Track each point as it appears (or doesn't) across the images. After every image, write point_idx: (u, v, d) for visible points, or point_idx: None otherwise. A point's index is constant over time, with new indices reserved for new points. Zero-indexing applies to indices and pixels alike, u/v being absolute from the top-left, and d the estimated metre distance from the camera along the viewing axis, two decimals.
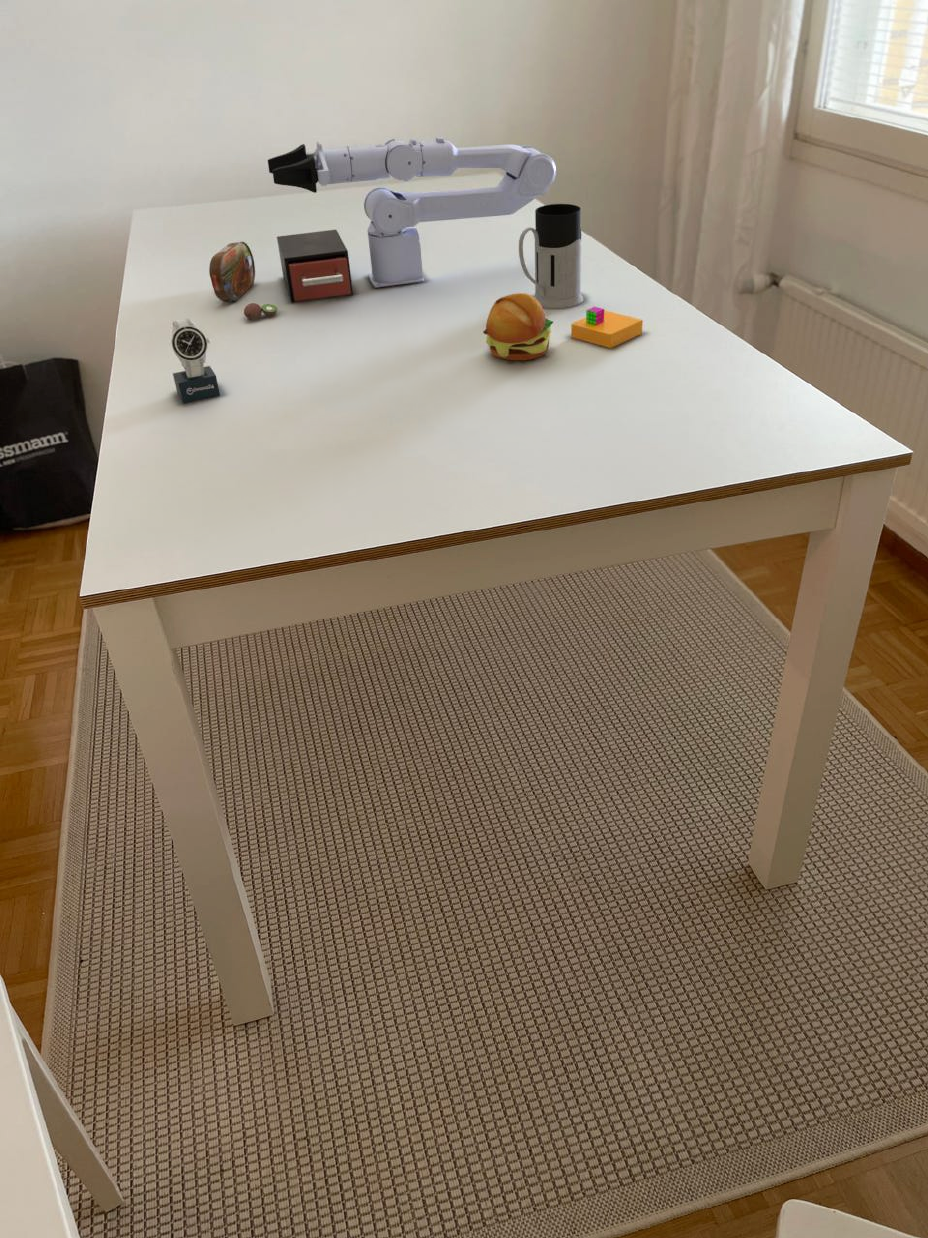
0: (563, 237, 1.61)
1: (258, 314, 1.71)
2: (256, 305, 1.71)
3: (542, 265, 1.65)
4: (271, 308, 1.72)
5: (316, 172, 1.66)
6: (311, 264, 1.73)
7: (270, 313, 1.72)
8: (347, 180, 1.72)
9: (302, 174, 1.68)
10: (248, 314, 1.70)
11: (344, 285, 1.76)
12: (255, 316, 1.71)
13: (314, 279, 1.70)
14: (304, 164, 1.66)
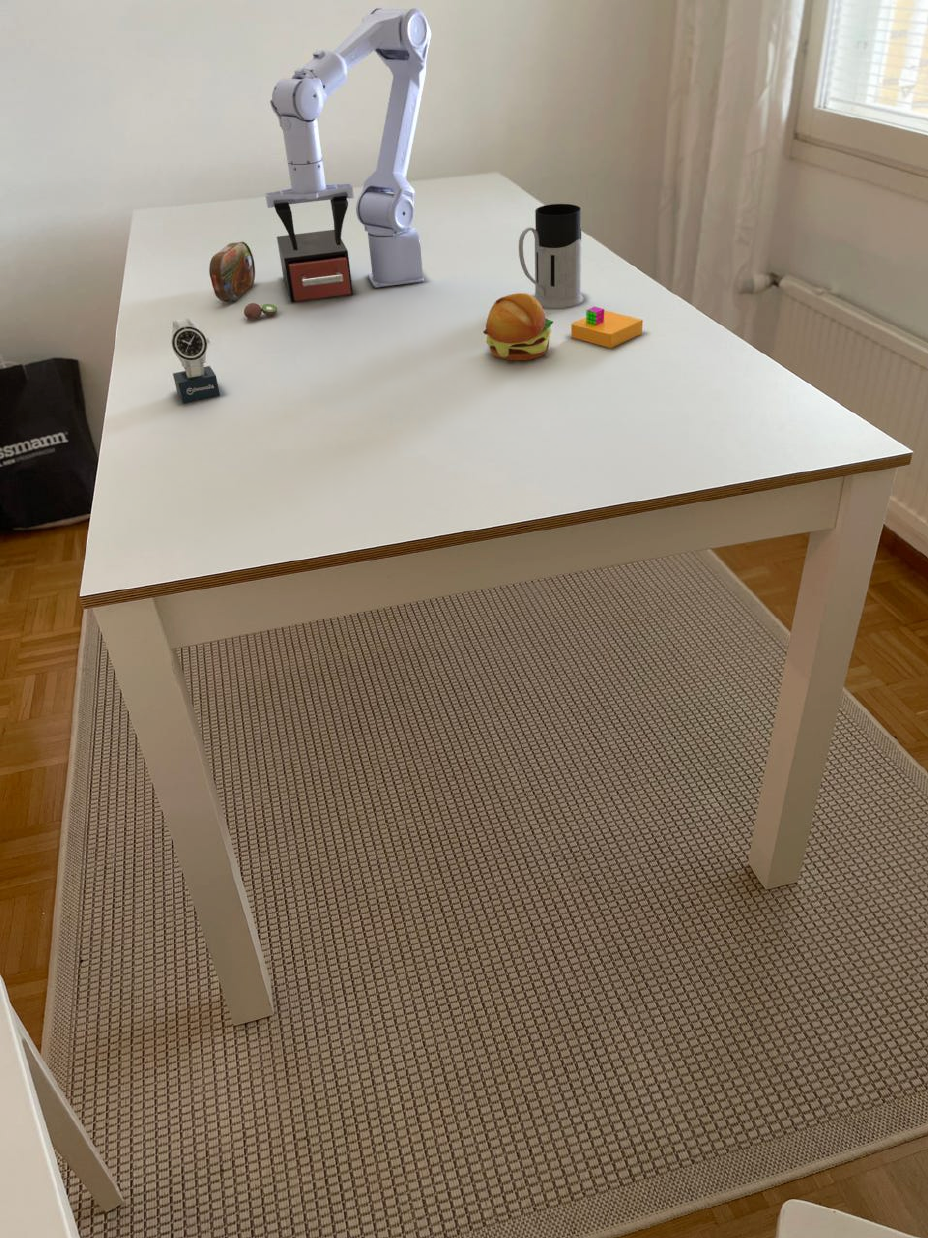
0: (563, 237, 1.61)
1: (258, 314, 1.71)
2: (256, 305, 1.71)
3: (542, 265, 1.65)
4: (271, 308, 1.72)
5: None
6: (311, 264, 1.73)
7: (270, 313, 1.72)
8: None
9: None
10: (248, 314, 1.70)
11: (344, 285, 1.76)
12: (255, 316, 1.71)
13: (314, 279, 1.70)
14: (345, 212, 1.66)
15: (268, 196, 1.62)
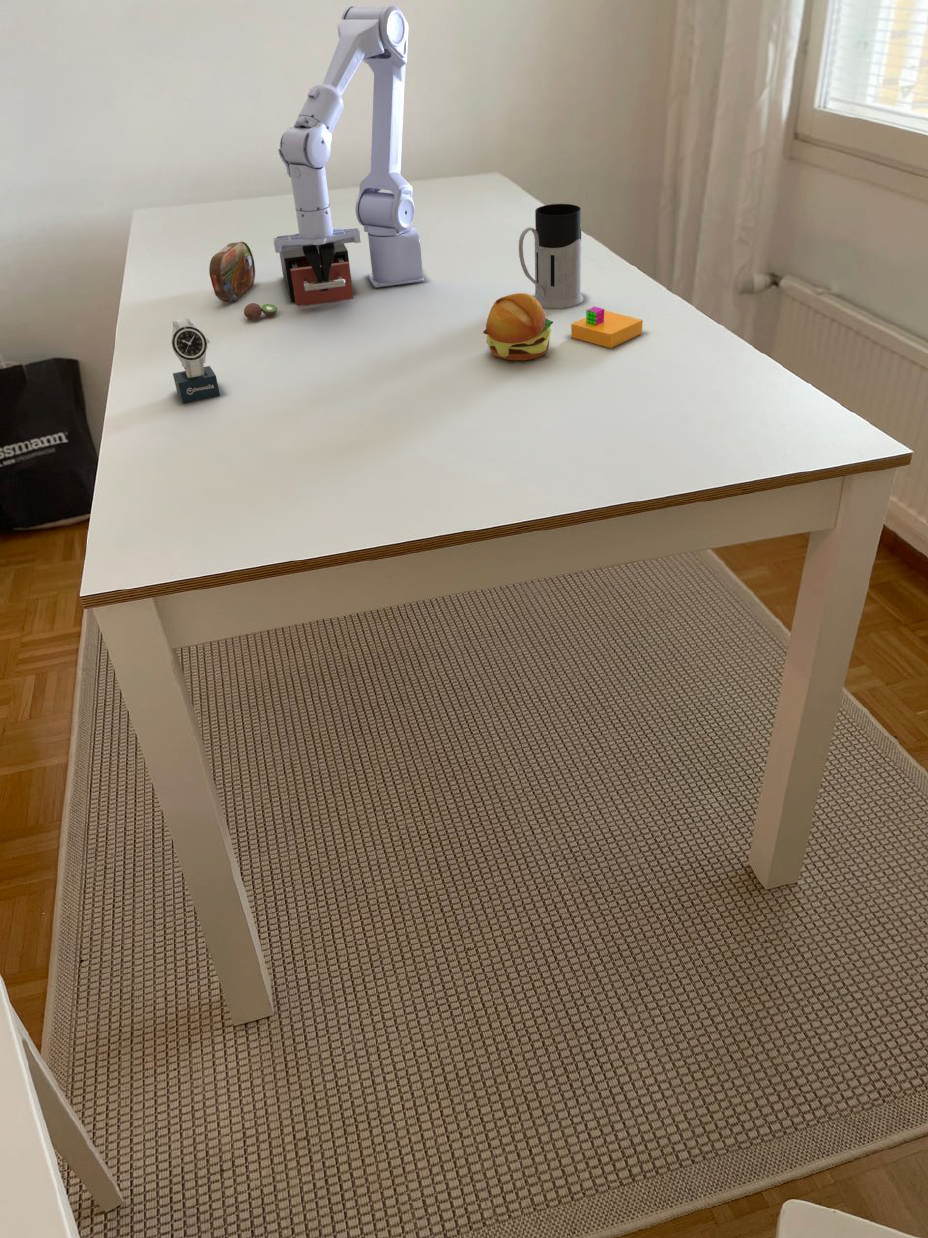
0: (563, 237, 1.61)
1: (258, 314, 1.71)
2: (256, 305, 1.71)
3: (542, 265, 1.65)
4: (271, 308, 1.72)
5: None
6: None
7: (270, 313, 1.72)
8: None
9: None
10: (248, 314, 1.70)
11: (346, 290, 1.74)
12: (255, 316, 1.71)
13: (316, 284, 1.68)
14: None
15: (276, 241, 1.64)
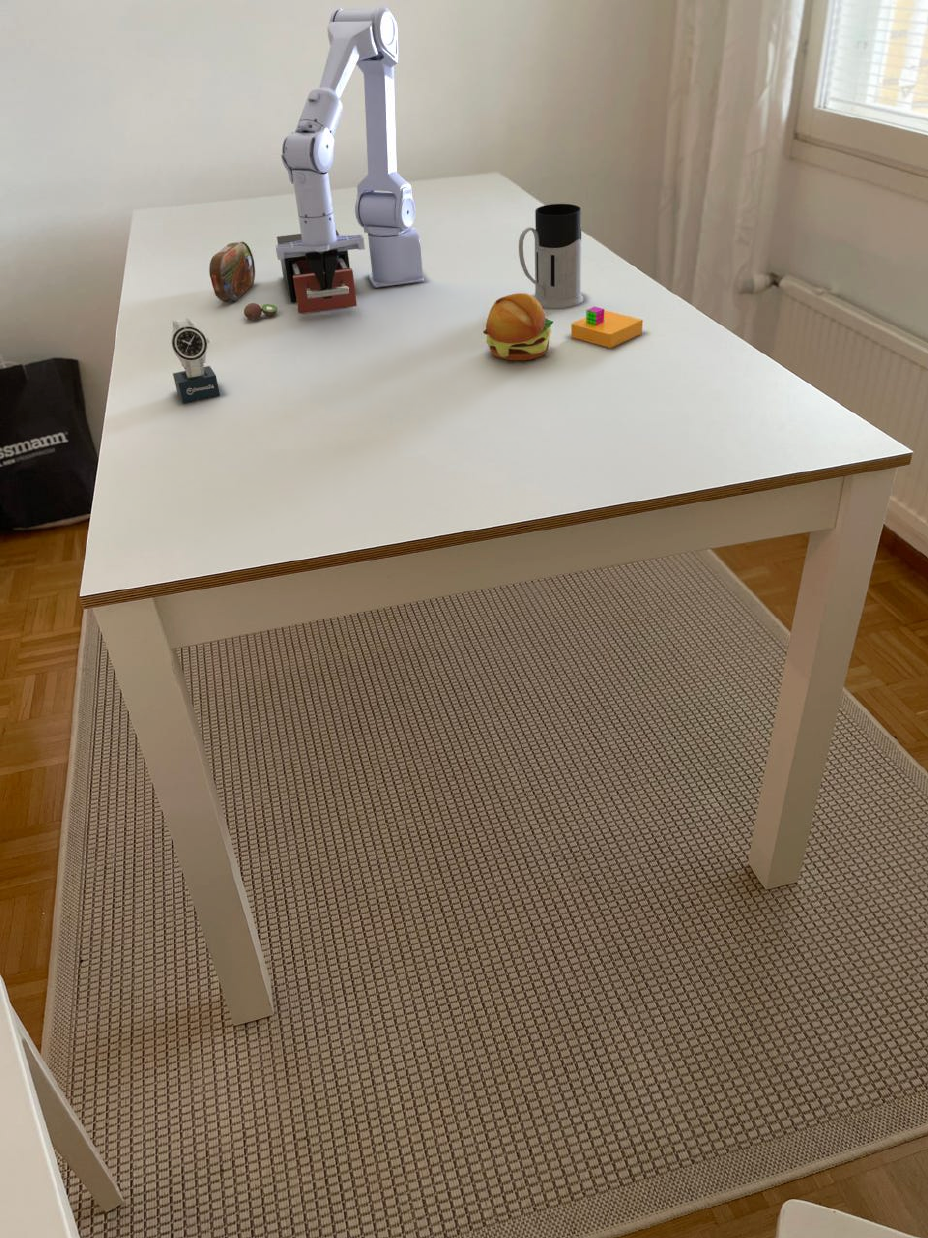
0: (563, 237, 1.61)
1: (258, 314, 1.71)
2: (256, 305, 1.71)
3: (542, 265, 1.65)
4: (271, 308, 1.72)
5: None
6: None
7: (270, 313, 1.72)
8: None
9: None
10: (248, 314, 1.70)
11: (350, 297, 1.71)
12: (255, 316, 1.71)
13: (319, 291, 1.65)
14: None
15: (278, 248, 1.60)
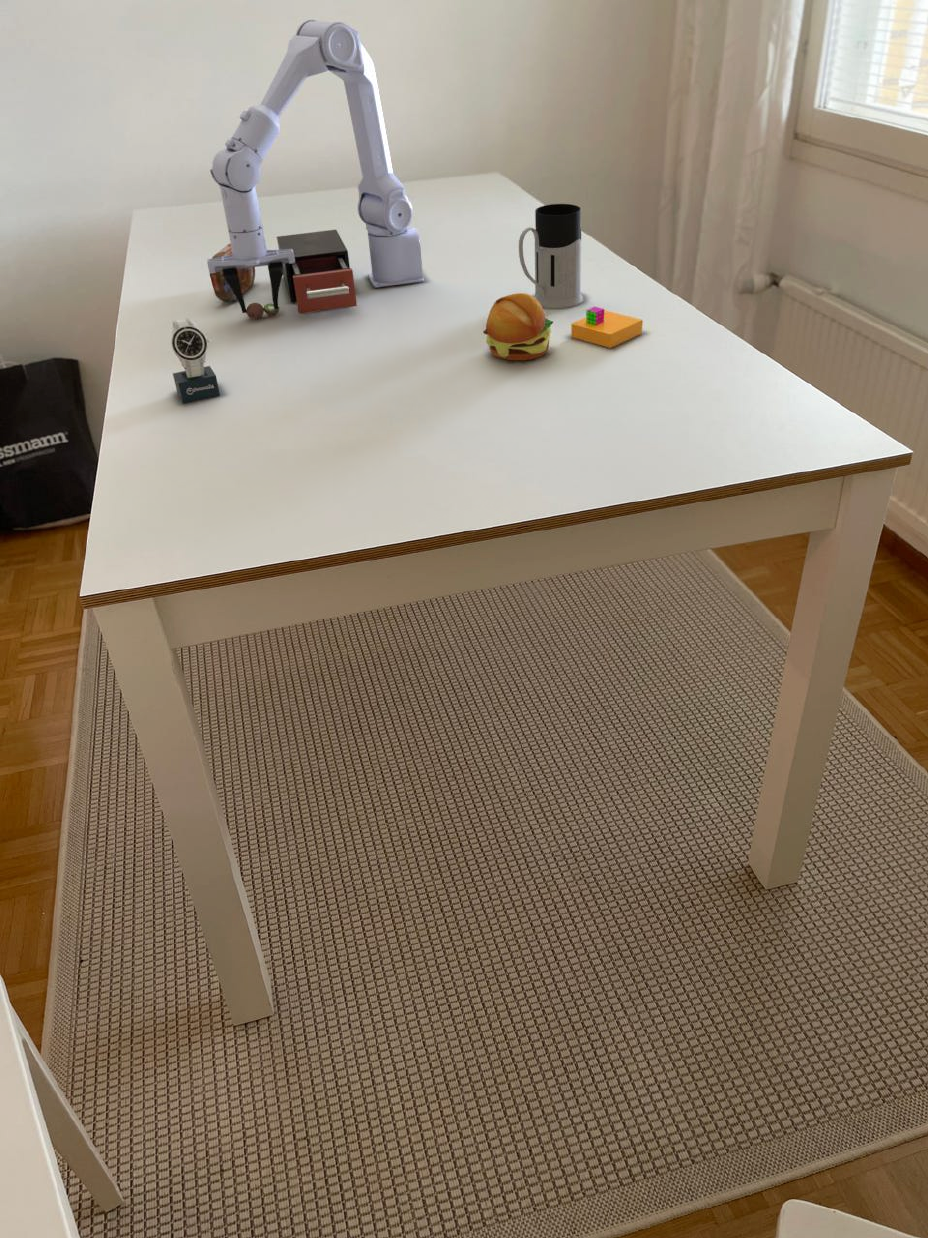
0: (563, 237, 1.61)
1: (260, 314, 1.71)
2: (258, 305, 1.71)
3: (542, 265, 1.65)
4: (273, 308, 1.73)
5: None
6: (316, 275, 1.67)
7: (272, 313, 1.72)
8: None
9: None
10: (250, 314, 1.70)
11: (350, 297, 1.71)
12: (257, 316, 1.71)
13: (319, 291, 1.65)
14: (281, 278, 1.68)
15: (209, 263, 1.65)
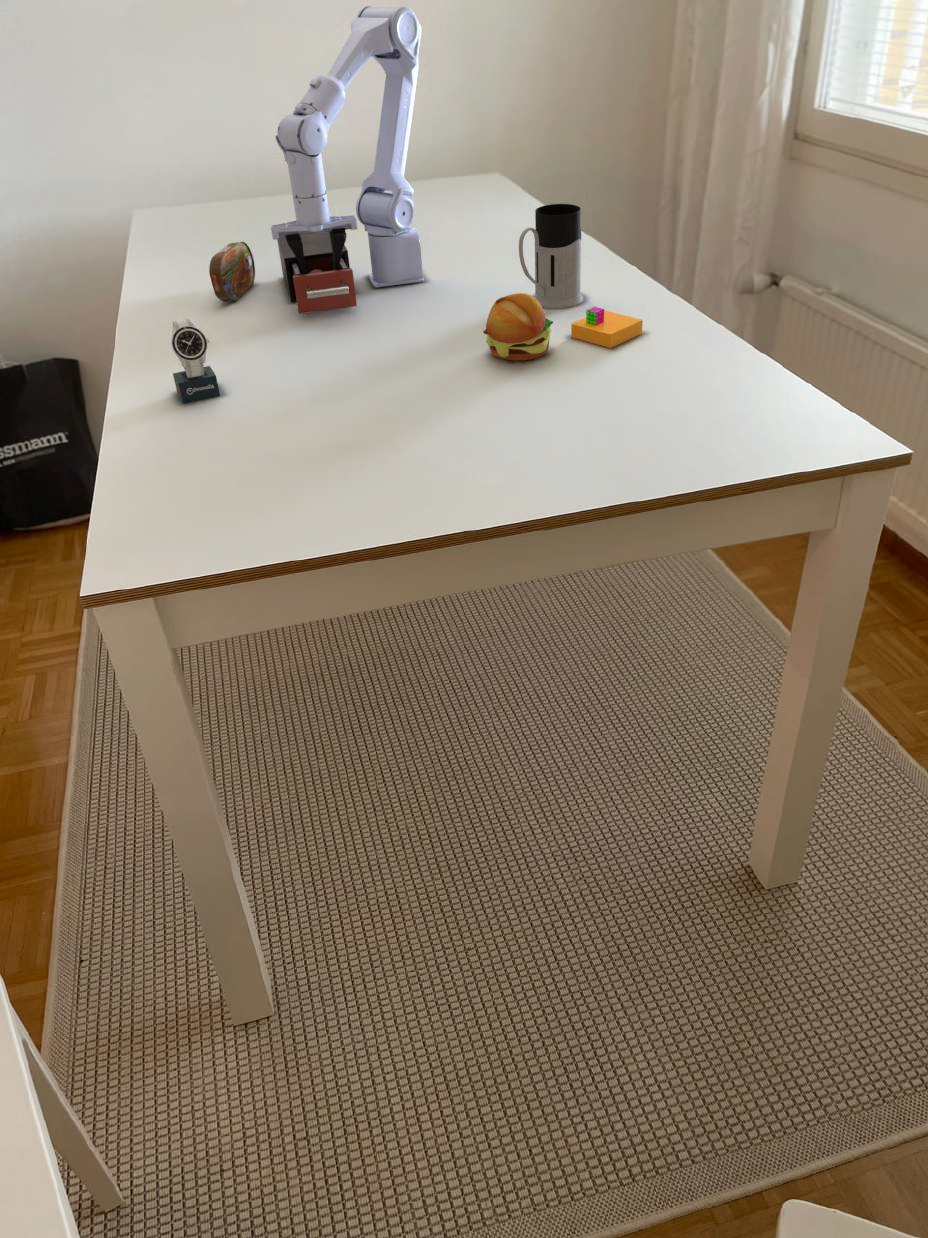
0: (563, 237, 1.61)
1: None
2: (320, 271, 1.72)
3: (542, 265, 1.65)
4: None
5: None
6: (316, 275, 1.67)
7: None
8: None
9: None
10: None
11: (350, 297, 1.71)
12: None
13: (319, 291, 1.65)
14: None
15: (273, 228, 1.65)
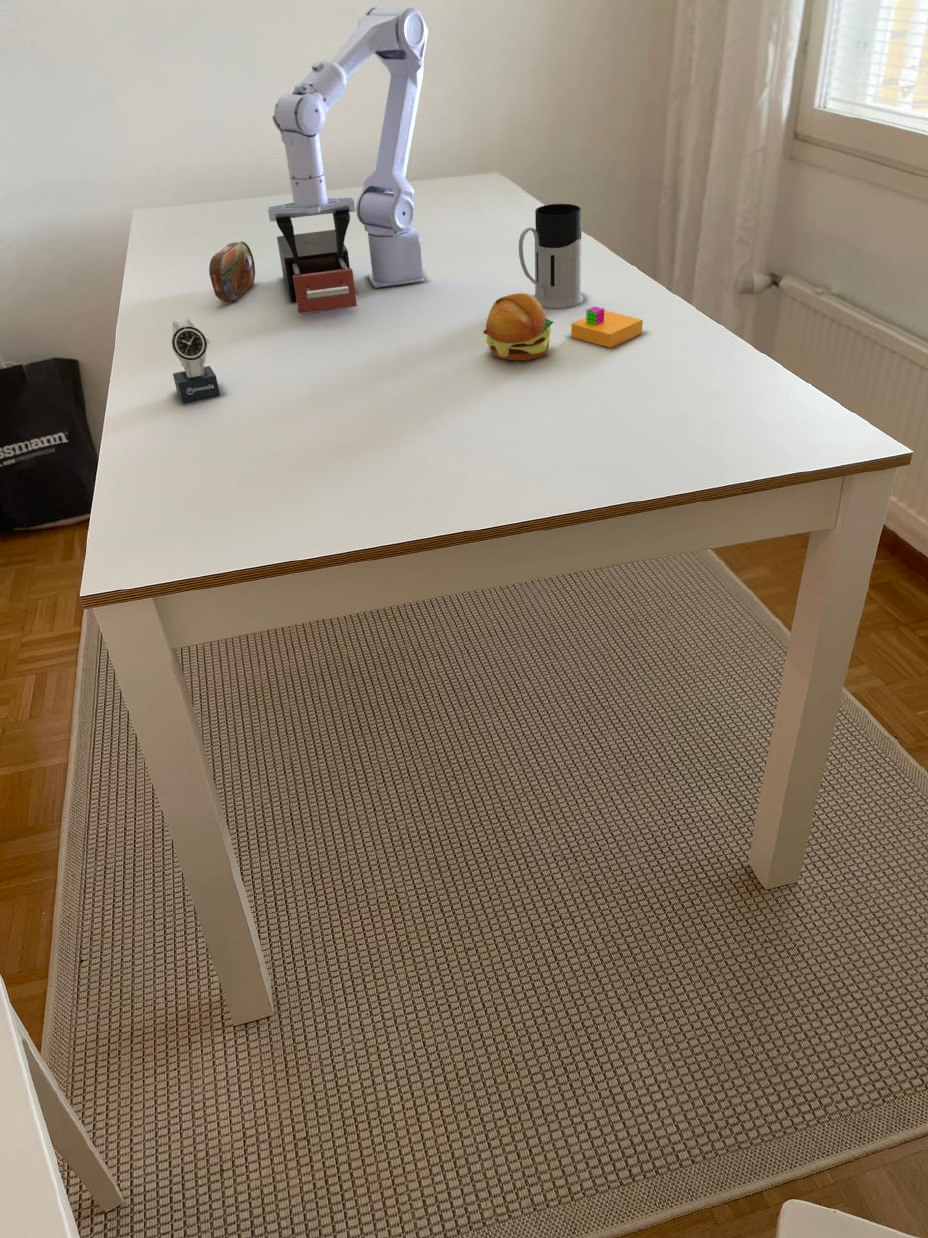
0: (563, 237, 1.61)
1: None
2: None
3: (542, 265, 1.65)
4: None
5: None
6: (316, 275, 1.67)
7: None
8: None
9: None
10: None
11: (350, 297, 1.71)
12: None
13: (319, 291, 1.65)
14: (347, 225, 1.67)
15: (270, 210, 1.64)
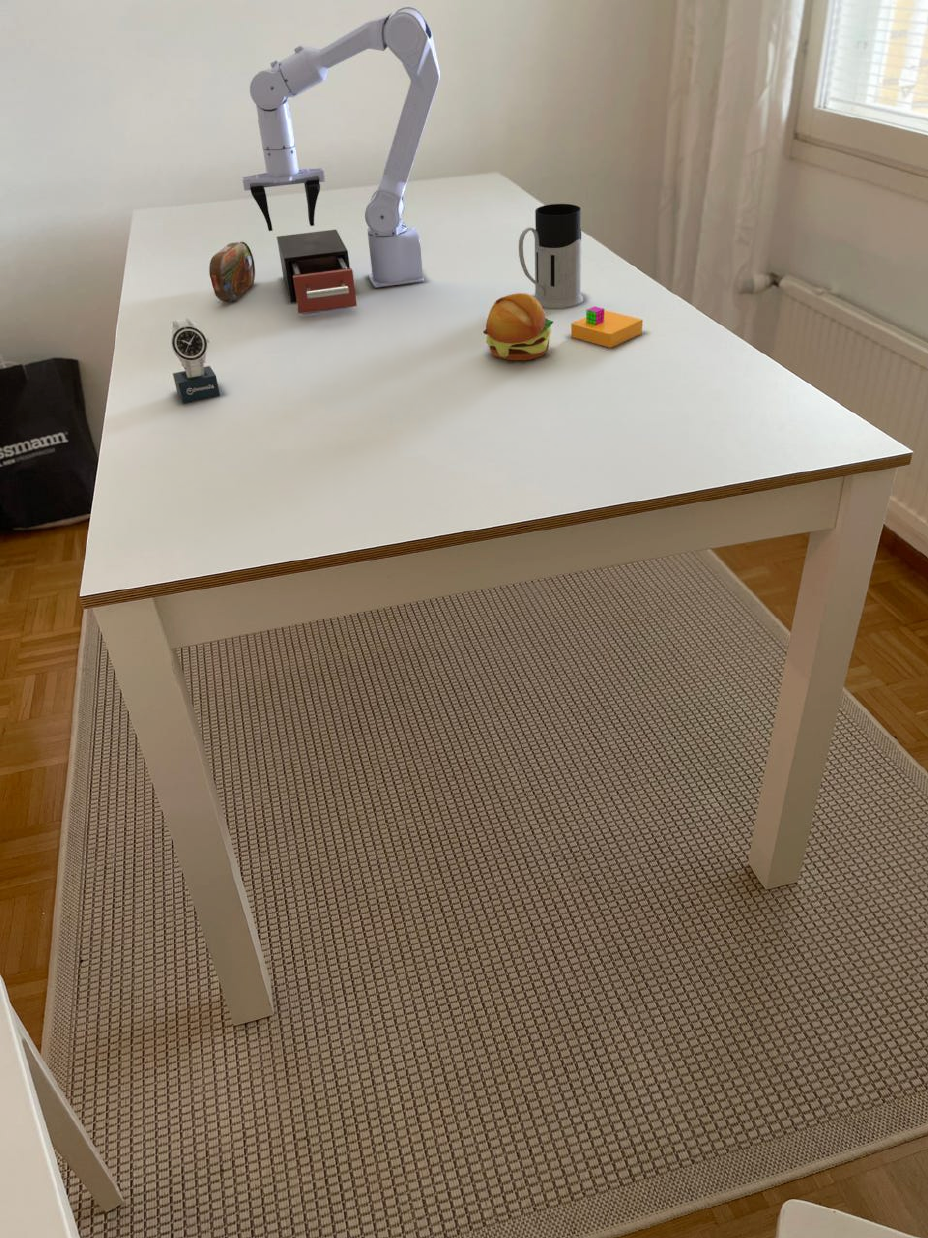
0: (563, 237, 1.61)
1: None
2: None
3: (542, 265, 1.65)
4: None
5: None
6: (316, 275, 1.67)
7: None
8: None
9: None
10: None
11: (350, 297, 1.71)
12: None
13: (319, 291, 1.65)
14: None
15: (244, 179, 1.74)
